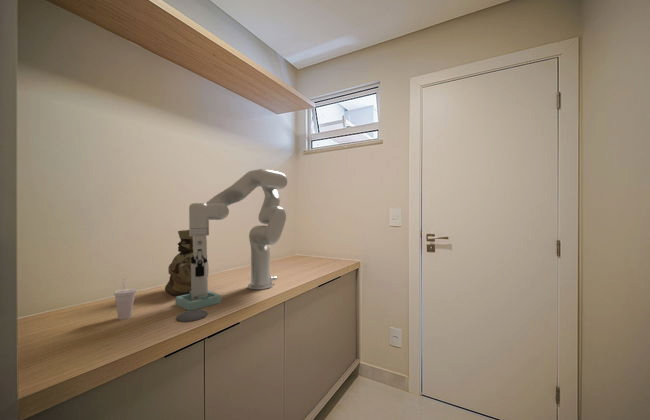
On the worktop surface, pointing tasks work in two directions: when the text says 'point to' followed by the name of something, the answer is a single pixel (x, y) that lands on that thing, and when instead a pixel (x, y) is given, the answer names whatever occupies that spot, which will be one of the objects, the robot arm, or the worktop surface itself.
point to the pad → (191, 315)
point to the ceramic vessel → (181, 267)
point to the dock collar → (198, 301)
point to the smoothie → (124, 302)
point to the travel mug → (199, 281)
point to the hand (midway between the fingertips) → (199, 274)
